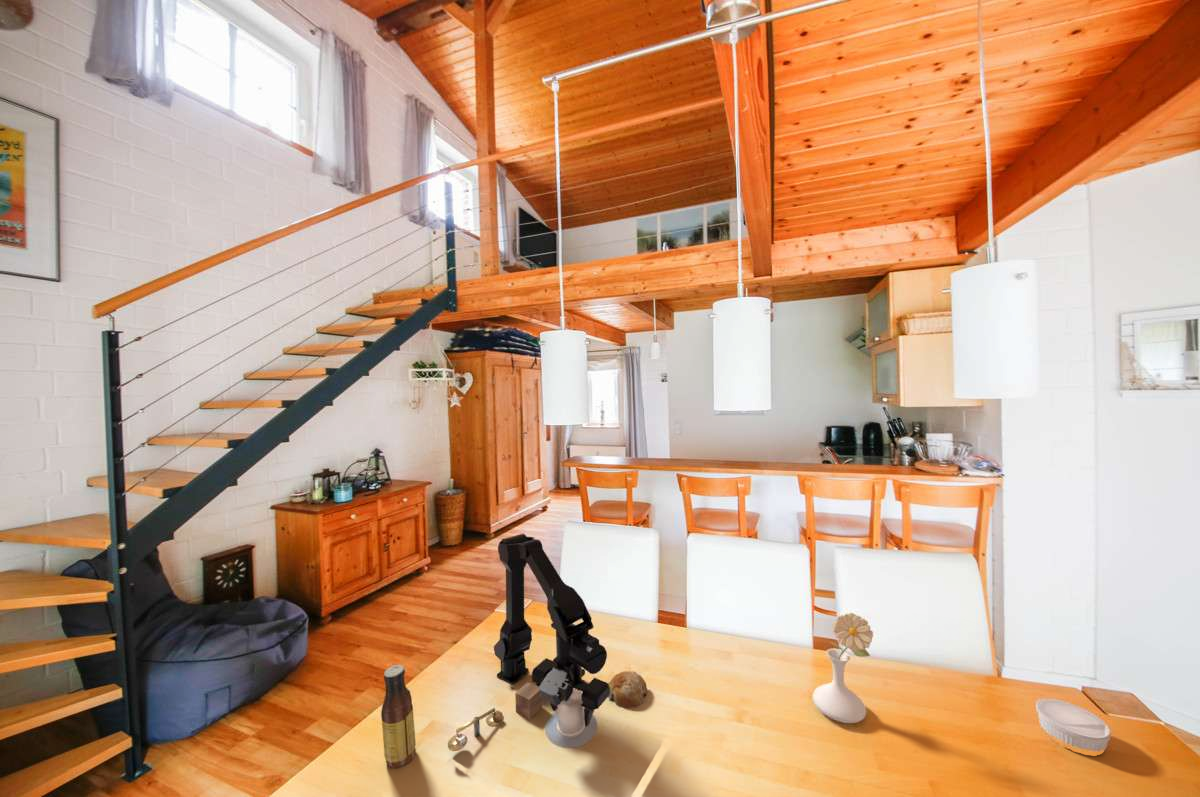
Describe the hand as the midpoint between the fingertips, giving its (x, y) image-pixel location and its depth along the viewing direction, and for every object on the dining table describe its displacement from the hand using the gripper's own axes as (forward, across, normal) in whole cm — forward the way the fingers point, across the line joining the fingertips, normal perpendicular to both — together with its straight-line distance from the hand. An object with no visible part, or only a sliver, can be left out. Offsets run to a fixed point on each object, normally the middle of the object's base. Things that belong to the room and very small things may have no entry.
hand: (570, 717), depth 101 cm
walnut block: (+3, -12, -1) cm, 12 cm away
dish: (+3, 0, 0) cm, 3 cm away
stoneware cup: (+2, 0, 0) cm, 2 cm away
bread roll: (+4, +6, +16) cm, 17 cm away
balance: (+3, -17, -13) cm, 22 cm away
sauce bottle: (+4, -28, -25) cm, 38 cm away
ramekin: (+4, +96, +54) cm, 110 cm away
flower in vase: (+3, +53, +38) cm, 65 cm away
